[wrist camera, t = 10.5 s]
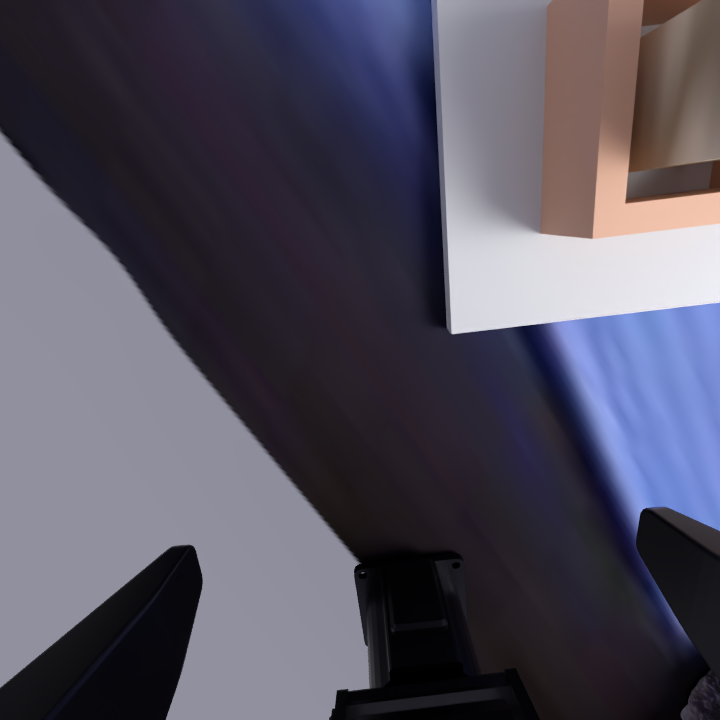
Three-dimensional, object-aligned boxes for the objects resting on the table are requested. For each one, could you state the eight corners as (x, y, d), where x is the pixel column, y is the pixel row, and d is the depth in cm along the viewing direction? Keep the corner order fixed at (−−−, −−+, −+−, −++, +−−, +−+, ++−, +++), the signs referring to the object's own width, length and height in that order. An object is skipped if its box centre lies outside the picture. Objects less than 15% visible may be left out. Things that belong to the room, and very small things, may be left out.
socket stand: (779, 288, 20) (914, 312, 15) (446, 328, 20) (476, 363, 15) (881, -165, 14) (1137, -348, 10) (426, -103, 15) (462, -253, 10)
